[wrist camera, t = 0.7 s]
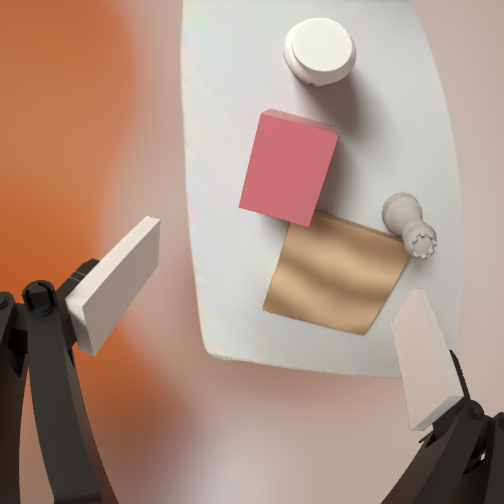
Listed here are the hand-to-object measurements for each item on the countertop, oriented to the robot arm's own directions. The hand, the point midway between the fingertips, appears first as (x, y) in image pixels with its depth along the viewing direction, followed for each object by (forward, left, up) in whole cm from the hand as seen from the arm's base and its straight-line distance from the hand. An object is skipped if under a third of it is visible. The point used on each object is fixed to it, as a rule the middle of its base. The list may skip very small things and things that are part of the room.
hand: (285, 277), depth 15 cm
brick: (-2, -1, -18) cm, 18 cm away
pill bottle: (-12, -1, -18) cm, 22 cm away
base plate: (+10, +8, -18) cm, 22 cm away
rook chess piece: (0, +12, -18) cm, 22 cm away
